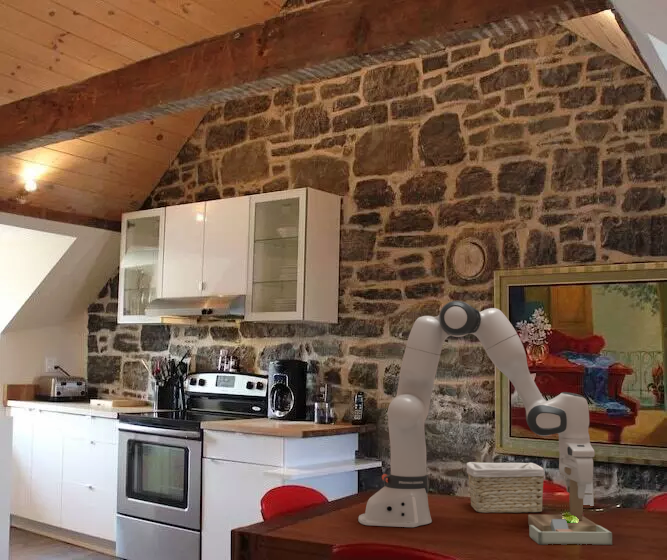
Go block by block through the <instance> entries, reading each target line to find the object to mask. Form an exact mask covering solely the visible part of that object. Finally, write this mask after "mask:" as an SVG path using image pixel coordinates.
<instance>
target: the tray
mask: <svg viewBox="0 0 667 560" xmlns="http://www.w3.org/2000/svg"><path fill="white" fill-rule="evenodd" d="M528 526H529V527H528V529H529V531H528V532H529V534H528V535H529V538H531V539H532V541H534V542H535V543H537V544H538V545H548V544H552V546H553V544H561V545H566V546H567V544H577V545H578V546H579V544H580V545H582V544H586V545H585V546H587V544H592V545H591V546H593V545H597V546H600V545H602V546H603V545H604V546H605V545H607V546H611V545H612V546H613V532H612V531H610V530H608V529H607V528H605V527H603V526H602V525H599V524H597V525H596V532H541V531H540V530H539V529H537V528H536V527H535V526H534V525H528Z"/></svg>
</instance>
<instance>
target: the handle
mask: <svg viewBox="0 0 667 560" xmlns="http://www.w3.org/2000/svg"><path fill="white" fill-rule="evenodd" d="M564 472H565V473H567V474H568V475H570V474H571V469H570V468H568V467H565V468H564ZM577 491H578V486H577V482H575V481H573V480H571V479H570V493H568V494H569V495H568V497H569V498H568V501H569V502H568V503H569V505H568V506H569V512H570V515H574V516H576V517H577V518H578V519H579V521H582V518H583V517H584V516H583V515H584V509H583V498H578V497H577Z"/></svg>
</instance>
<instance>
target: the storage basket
mask: <svg viewBox="0 0 667 560" xmlns="http://www.w3.org/2000/svg"><path fill="white" fill-rule="evenodd" d="M466 474H467V476H468V486H469V496H470V497H469V498H470V506H471V507H472V508H473V510H475V511H476V513H477V512H478V513H483V514H489V513H495V514H496V513H498V514H503V513H510V514H511V513H514V514H519V513H520V514H521V513H542V512H543V497H544V496H543V492H544V479H545V478H544V477H545V469H544V467H541V466H540V465H538V464H537V463H534V462H478V461H477V462H473V461H469V462H466Z"/></svg>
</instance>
